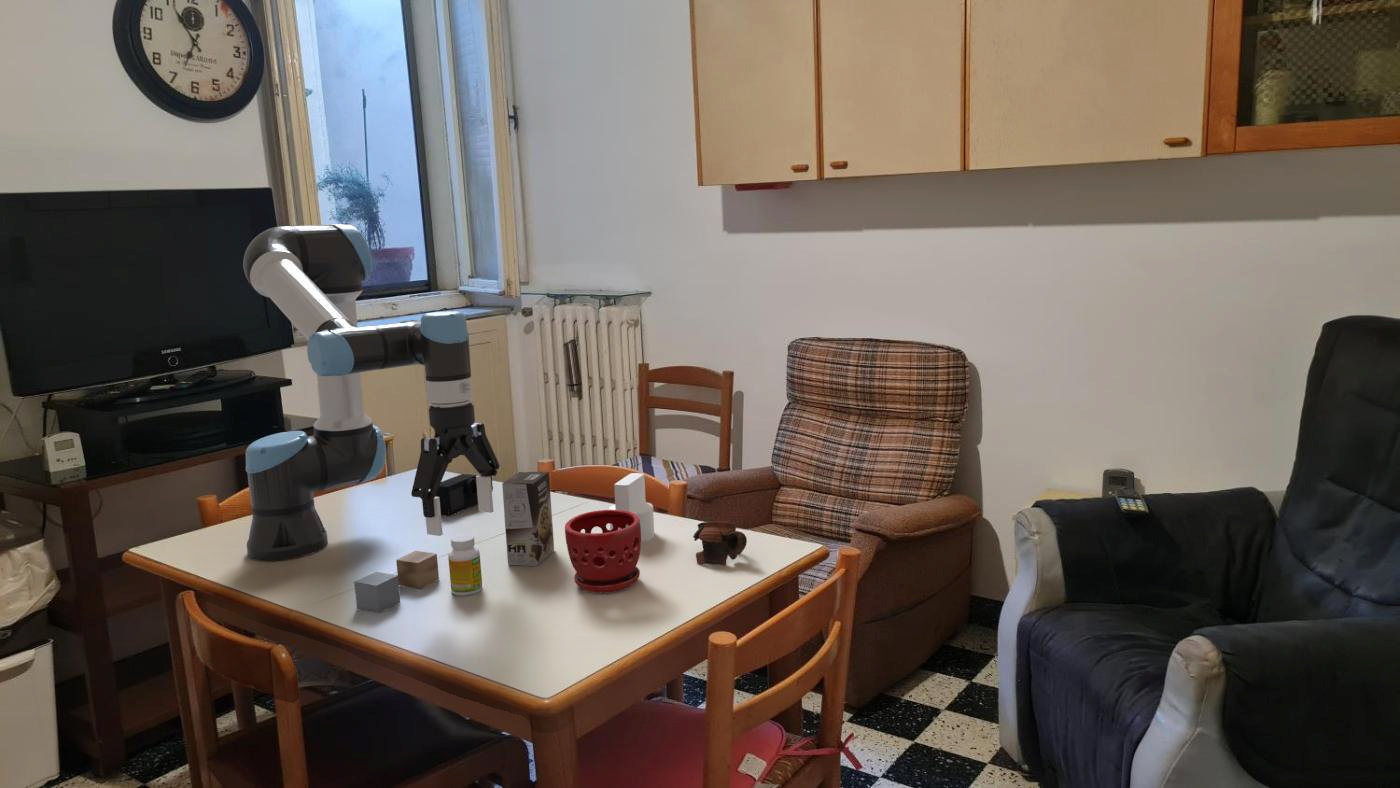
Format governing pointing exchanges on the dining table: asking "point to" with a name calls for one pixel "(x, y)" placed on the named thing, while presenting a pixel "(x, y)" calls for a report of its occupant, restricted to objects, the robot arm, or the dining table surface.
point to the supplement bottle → (464, 566)
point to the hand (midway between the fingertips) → (461, 522)
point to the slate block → (377, 592)
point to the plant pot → (604, 550)
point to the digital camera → (457, 494)
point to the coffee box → (528, 518)
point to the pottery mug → (719, 542)
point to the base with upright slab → (634, 503)
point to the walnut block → (417, 569)
